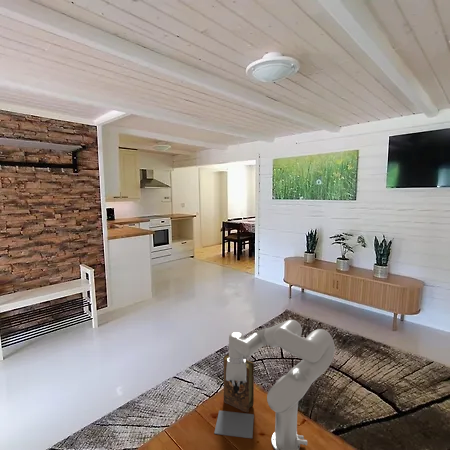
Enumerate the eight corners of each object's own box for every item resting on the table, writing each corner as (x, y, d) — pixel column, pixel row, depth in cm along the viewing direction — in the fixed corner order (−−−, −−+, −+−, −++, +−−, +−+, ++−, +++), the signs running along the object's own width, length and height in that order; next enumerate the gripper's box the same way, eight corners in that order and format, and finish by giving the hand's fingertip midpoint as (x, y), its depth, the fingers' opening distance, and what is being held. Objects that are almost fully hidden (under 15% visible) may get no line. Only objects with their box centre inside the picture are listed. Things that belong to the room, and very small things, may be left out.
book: (222, 401, 153) (222, 358, 150) (227, 395, 158) (227, 353, 155) (248, 413, 144) (249, 368, 142) (253, 406, 149) (254, 362, 146)
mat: (253, 415, 143) (253, 414, 143) (252, 438, 130) (252, 437, 129) (219, 411, 146) (219, 410, 146) (214, 433, 132) (214, 433, 132)
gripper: (251, 354, 143) (251, 388, 145) (222, 352, 145) (223, 385, 147) (250, 363, 135) (250, 398, 137) (220, 360, 137) (220, 395, 139)
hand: (236, 391), depth 142 cm, fingers closed
